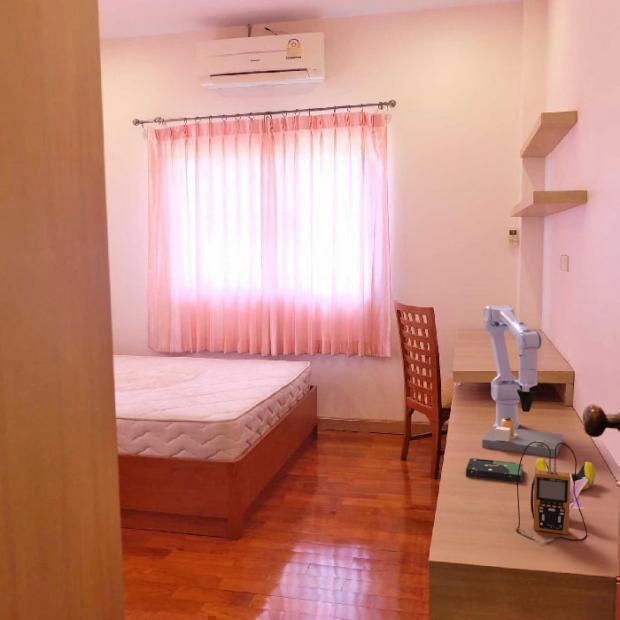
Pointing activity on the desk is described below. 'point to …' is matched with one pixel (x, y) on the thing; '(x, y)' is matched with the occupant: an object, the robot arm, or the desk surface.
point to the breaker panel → (525, 442)
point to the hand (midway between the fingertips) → (527, 408)
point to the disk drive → (494, 470)
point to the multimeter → (550, 500)
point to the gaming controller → (584, 473)
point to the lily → (576, 492)
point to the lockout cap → (508, 424)
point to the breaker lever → (502, 434)
